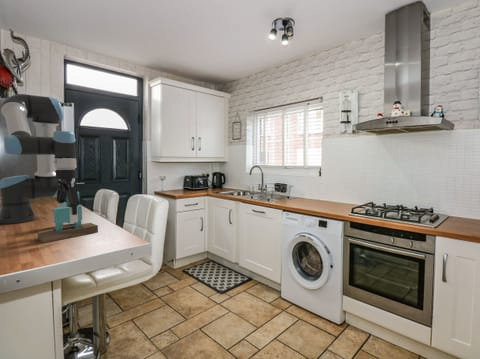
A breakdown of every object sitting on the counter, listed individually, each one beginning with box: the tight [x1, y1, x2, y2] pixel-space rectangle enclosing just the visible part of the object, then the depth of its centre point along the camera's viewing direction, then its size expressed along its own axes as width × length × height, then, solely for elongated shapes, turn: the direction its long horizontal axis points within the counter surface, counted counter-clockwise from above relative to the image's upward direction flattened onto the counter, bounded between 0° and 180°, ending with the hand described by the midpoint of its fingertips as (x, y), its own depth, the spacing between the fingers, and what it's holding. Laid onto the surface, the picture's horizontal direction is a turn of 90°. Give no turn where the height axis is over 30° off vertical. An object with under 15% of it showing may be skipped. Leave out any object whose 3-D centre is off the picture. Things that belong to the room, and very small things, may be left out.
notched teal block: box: [53, 205, 83, 232], centre depth 113 cm, size 3×9×12 cm, turn 140°
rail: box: [36, 222, 99, 244], centre depth 114 cm, size 8×20×3 cm, turn 140°
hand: (68, 220), depth 113 cm, fingers open, 12 cm apart
